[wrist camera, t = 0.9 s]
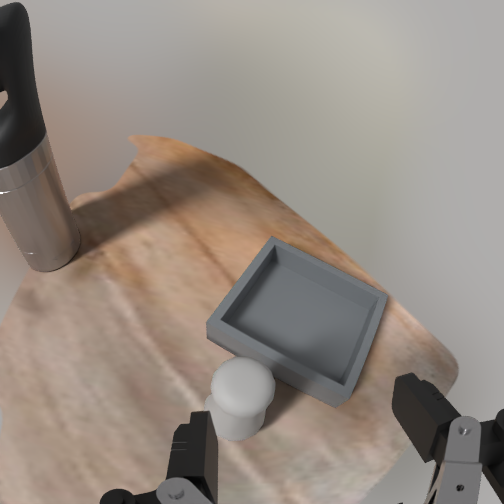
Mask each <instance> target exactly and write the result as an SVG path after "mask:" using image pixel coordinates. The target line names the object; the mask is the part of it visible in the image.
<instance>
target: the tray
mask: <svg viewBox="0 0 504 504" xmlns="http://www.w3.org/2000/svg"><path fill="white" fill-rule="evenodd" d="M387 297H388V295H387V294H385V293H383V292H381V291H379V290H378V289H376V288H374V287H372V286H370V285H368V284H366V283H364V282H362V281H360V280H358V279H356V278H354V277H352V276H350V275H348V274H346V273H344V272H343V271H341V270H339V269H337V268H335V267H333V266H331V265H329V264H327V263H325V262H323V261H321V260H319V259H317V258H315V257H313V256H311V255H309V254H307V253H305V252H303V251H301V250H299V249H297V248H295V247H293V246H291V245H289V244H287V243H285V242H283V241H281V240H279V239H277V238H275V237H273V236H271V237H270V238H269V240H268V241H267V242H266V244H265V245H264V246H263V248H262V249H261V250H260V252H259V253H258V254H257V256H256V257H255V258H254V260H253V261H252V262H251V264H250V265H249V266H248V268H247V269H246V270H245V272H244V273H243V274H242V276H241V277H240V278H239V280H238V281H237V282H236V284H235V285H234V286H233V288H232V289H231V290H230V292H229V293H228V294H227V295H226V297H225V298H224V299H223V301H222V302H221V303H220V305H219V306H218V307H217V309H216V310H215V311H214V313H213V314H212V315H211V317H210V318H209V319H208V321H207V322H206V328H207V339H209V340H210V341H212V342H214V343H215V344H217V345H219V346H220V347H222V348H224V349H226V350H227V351H229V352H231V353H232V354H234V355H236V356H249V357H252V358H255V359H257V360H260V361H262V362H263V363H264V364H265V365H266V366H267V367H268V368H269V369H270V370H271V372H272V375H273V377H275V378H277V379H279V380H281V381H283V382H285V383H287V384H288V385H290V386H292V387H294V388H296V389H298V390H300V391H302V392H304V393H306V394H308V395H310V396H312V397H314V398H316V399H318V400H320V401H322V402H324V403H326V404H328V405H330V406H332V407H335V408H336V407H338V406H339V405H341V404H342V403H344V402H345V401H347V400H348V399H350V396H351V394H352V392H353V389H354V387H355V385H356V382H357V380H358V377H359V375H360V372H361V370H362V367H363V365H364V362H365V360H366V357H367V355H368V352H369V349H370V347H371V344H372V341H373V339H374V336H375V333H376V330H377V327H378V325H379V322H380V319H381V316H382V313H383V310H384V307H385V304H386V301H387Z"/></svg>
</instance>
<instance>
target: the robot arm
mask: <svg viewBox="0 0 504 504" xmlns="http://www.w3.org/2000/svg"><path fill="white" fill-rule="evenodd" d="M2 91H7V94H8V100H7V101H6V103H5V104H4V106H3V107H2V108H1V109H0V215H1V217H2V219H3V221H4V223H5V224H6V226H7V228H8V230H9V232H10V234H11V235H12V237H13V239H14V241H15V242H16V244H17V246H18V248H19V250H20V251H21V253H22V255H23V256H24V258H25V260H26V261H27V263H28V265H29V266H30V267H31V268H33V269H34V270H36V271H40V272H48V271H53V270H55V269H58V268H60V267H62V266H63V265H65V264H66V263H67V262H69V261H70V260H71V259H72V258H73V256H74V255H75V254H76V252H77V250H78V248H79V245H80V240H81V239H80V233H79V231H78V228H77V225H76V223H75V220H74V217H73V214H72V211H71V208H70V206H69V203H68V200H67V197H66V194H65V191H64V188H63V185H62V182H61V179H60V176H59V173H58V169H57V166H56V163H55V159H54V157H53V153H52V150H51V146H50V142H49V139H48V135H47V131H46V127H45V123H44V120H43V116H42V111H41V107H40V103H39V98H38V93H37V88H36V82H35V75H34V67H33V55H32V40H31V29H30V23H29V17H28V13H27V11H26V9H25V7H24V6H23V5H22V4H21V3H19V2H14V3H10V4H7V5H5V6H2V7H0V92H2ZM392 410H393V413H394V415H395V417H396V419H397V420H398V422H399V423H400V425H401V426H402V428H403V429H404V431H405V432H406V434H407V436H408V437H409V439H410V440H411V442H412V443H413V445H414V446H415V448H416V450H417V451H418V453H419V454H420V456H421V458H422V459H423V461H424V462H425V463H426V462H429V461H431V460H435V462H436V464H435V467H434V471H433V475H432V479H431V483H430V486H429V490H428V493H427V497H426V500H425V502H424V504H477V501H478V494H479V488H480V481H481V472H483V474H484V475H485V477H486V478H487V480H488V481H489V483H490V485H491V486H492V488H493V489H494V491H495V492H496V494H497V496H498V497H499V499H500V500H501V502H502V504H504V409H502V410H500V411H499V412H498V414H497V416H496V419H495V420H490V421H485V422H478V421H477V420H476V419H475V418H472V417H469V416H461V415H460V414H459V413H458V412H457V410H456V409H455V408H454V407H453V406H452V405H451V404H450V402H449V401H448V400H447V399H446V398H444V396H443V395H442V393H440V392H439V390H438V389H437V388H436V387H435V386H434V385H433V384H431V383H430V382H428V381H426V380H422V381H420V380H419V379H418V377H417V376H416V375H415V374H414V373H408V374H405V375H402V376H398V377H396V379H395V385H394V392H393V398H392ZM100 504H218V440H217V435H216V431H215V428H214V424H213V421H212V417H211V413H210V411H197V412H191V417H190V424H180V426H179V427H178V428H177V430H176V431H175V432H174V436H173V444H172V448H171V453H170V459H169V465H168V471H167V477H166V480H165V481H163V482H162V483H161V484H160V485H159V486H158V488H157V489H156V490H154V491H152V492H148V493H143V494H138V495H133V494H132V493H131V492H129V491H127V490H124V489H113V490H110V491H108V492H107V493H105V494H104V495H103V496H102V498H101V500H100ZM399 504H403V503H399Z"/></svg>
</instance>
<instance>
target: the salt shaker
mask: <svg viewBox="0 0 504 504" xmlns="http://www.w3.org/2000/svg"><path fill="white" fill-rule="evenodd" d="M211 391H212V393H211V394H210V395H209V396H208V397H207V398H206V401H205V406H204V410H203V411H210V413H211V417H212V421H213V424H214V428H215V431H216V435H217V436H219V437H221V438H224V439H226V440H228V441H237V440H245V439H247V438H249V437H251V436H253V435H255V434H256V433H257V432H258V430H259V429H260V428H261V426H262V425H263V424H264V419H265V413H266V409H267V407H268V406H269V404H270V403H271V402H272V400H273V398H274V392H275V381H274V378H273V375H272V372H271V370H270V369H269V368H268V367H267V366H266V365H265V364H264V363H263V362H262V361H260V360H257V359H255V358H252V357H249V356H236V357H233V358H231V359H229V360H227V361H225V362H223V363H222V364H221V366H220V367H219V368H218V369H217V370H216V371H215V373H214V374H213V378H212V383H211Z"/></svg>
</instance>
